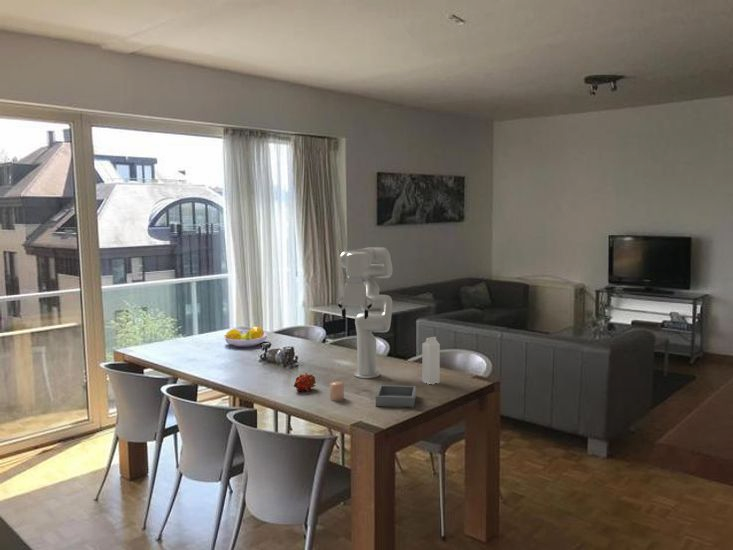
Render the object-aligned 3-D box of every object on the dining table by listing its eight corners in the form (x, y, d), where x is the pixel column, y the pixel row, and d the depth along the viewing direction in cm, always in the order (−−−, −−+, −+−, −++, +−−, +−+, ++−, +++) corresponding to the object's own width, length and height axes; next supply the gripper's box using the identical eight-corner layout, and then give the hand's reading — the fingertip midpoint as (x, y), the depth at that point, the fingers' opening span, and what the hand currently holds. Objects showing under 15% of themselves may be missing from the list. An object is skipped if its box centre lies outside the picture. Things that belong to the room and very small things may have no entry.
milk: (439, 383, 282) (440, 337, 279) (429, 385, 279) (430, 339, 276) (431, 380, 287) (432, 335, 285) (421, 382, 284) (422, 336, 281)
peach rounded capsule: (331, 396, 263) (331, 381, 263) (345, 397, 262) (344, 381, 262) (329, 401, 257) (328, 385, 257) (342, 401, 257) (342, 385, 256)
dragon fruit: (317, 391, 276) (296, 400, 269) (308, 378, 280) (286, 386, 273) (322, 379, 271) (300, 388, 264) (312, 366, 275) (290, 375, 268)
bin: (380, 394, 265) (379, 385, 265) (415, 395, 263) (415, 386, 263) (375, 406, 250) (375, 396, 249) (413, 408, 247) (413, 397, 247)
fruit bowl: (229, 340, 378) (228, 322, 376) (271, 339, 378) (271, 322, 376) (217, 350, 350) (217, 331, 349) (263, 350, 350) (263, 331, 348)
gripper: (375, 280, 267) (375, 317, 269) (337, 279, 269) (337, 317, 271) (373, 281, 260) (373, 320, 261) (334, 281, 262) (334, 319, 263)
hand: (355, 318), depth 266 cm, fingers open, 9 cm apart
